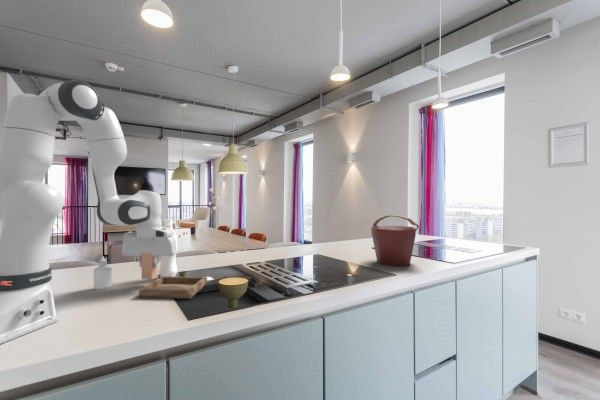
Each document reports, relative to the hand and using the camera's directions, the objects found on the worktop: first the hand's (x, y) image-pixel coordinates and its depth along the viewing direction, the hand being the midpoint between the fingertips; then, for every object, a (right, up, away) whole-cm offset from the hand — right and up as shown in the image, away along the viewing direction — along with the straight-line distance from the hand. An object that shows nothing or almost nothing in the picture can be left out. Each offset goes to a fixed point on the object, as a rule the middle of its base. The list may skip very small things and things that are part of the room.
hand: (149, 267), depth 117 cm
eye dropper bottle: (-16, -8, -3) cm, 18 cm away
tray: (+13, -7, -6) cm, 16 cm away
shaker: (0, -4, 0) cm, 4 cm away
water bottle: (+3, -7, +11) cm, 13 cm away
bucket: (+108, -7, +40) cm, 115 cm away
